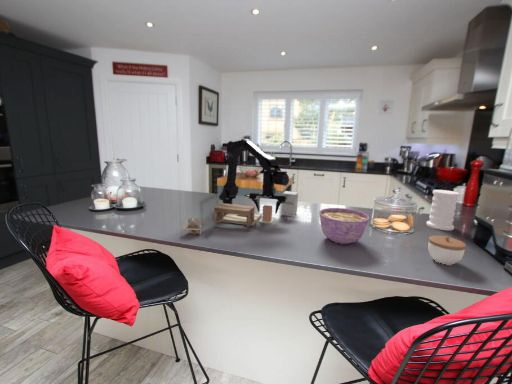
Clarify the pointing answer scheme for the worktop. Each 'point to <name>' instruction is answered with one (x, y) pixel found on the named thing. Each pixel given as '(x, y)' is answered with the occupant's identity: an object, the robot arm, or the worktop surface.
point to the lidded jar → (446, 249)
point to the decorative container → (443, 209)
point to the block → (267, 212)
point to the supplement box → (290, 204)
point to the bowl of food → (343, 224)
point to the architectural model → (194, 225)
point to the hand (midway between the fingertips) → (267, 212)
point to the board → (239, 218)
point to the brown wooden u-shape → (234, 212)
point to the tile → (267, 221)
